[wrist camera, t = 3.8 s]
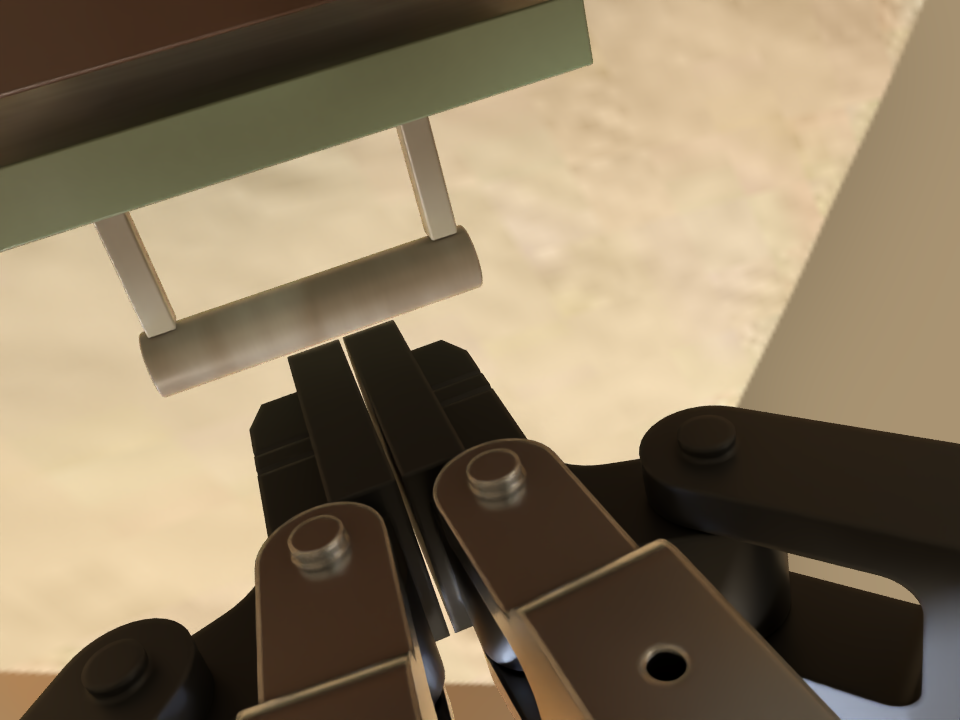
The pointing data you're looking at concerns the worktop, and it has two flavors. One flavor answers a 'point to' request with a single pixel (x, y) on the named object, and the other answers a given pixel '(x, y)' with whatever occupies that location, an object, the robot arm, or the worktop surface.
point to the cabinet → (112, 32)
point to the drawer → (273, 155)
